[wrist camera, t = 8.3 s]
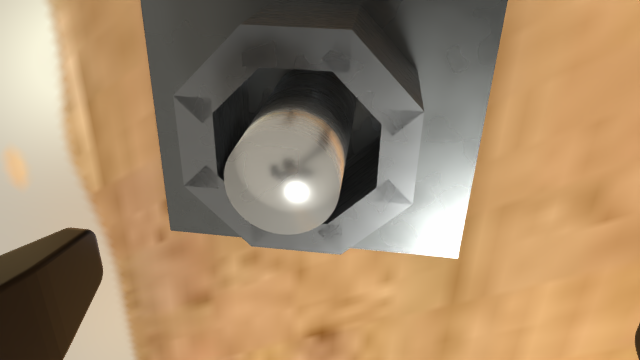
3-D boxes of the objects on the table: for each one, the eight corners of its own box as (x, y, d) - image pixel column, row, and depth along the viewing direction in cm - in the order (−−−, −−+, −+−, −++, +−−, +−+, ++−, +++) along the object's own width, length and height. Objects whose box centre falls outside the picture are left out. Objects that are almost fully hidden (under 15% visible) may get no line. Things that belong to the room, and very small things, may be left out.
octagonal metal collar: (425, 7, 16) (433, 33, 13) (403, 197, 19) (405, 260, 16) (211, -2, 17) (164, 21, 13) (225, 183, 20) (190, 240, 17)
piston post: (514, -76, 16) (594, -68, 10) (454, 244, 21) (480, 378, 15) (142, -89, 17) (-1, -90, 11) (179, 217, 22) (98, 332, 16)
